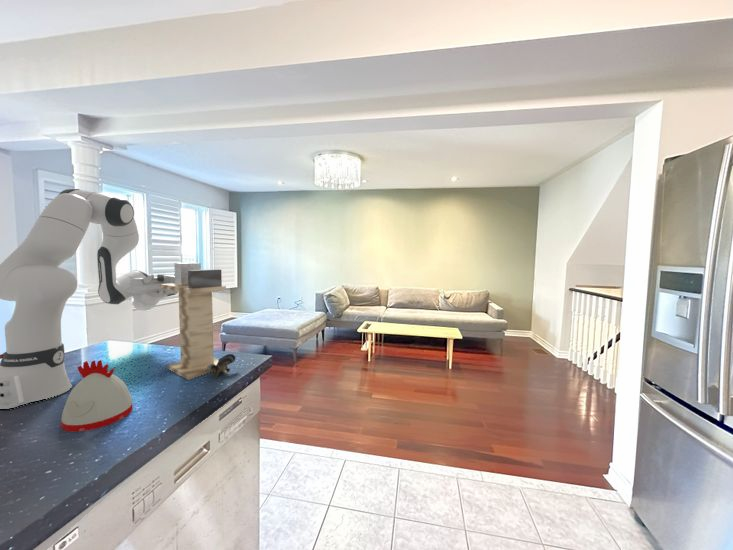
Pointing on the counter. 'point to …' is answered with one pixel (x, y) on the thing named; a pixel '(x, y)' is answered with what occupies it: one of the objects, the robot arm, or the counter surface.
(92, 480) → the counter surface
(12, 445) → the counter surface
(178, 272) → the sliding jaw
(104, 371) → the kitchen timer
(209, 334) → the shelf
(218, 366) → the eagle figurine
